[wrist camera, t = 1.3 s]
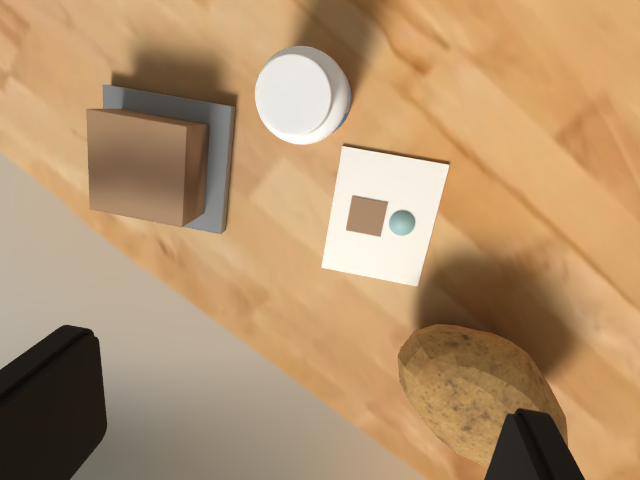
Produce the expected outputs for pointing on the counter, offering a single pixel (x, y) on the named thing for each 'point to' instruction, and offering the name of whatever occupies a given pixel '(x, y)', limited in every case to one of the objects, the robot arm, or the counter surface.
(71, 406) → the robot arm
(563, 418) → the potato
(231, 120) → the baseplate
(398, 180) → the page
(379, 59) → the counter surface
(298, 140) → the pill bottle
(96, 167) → the brown square block
